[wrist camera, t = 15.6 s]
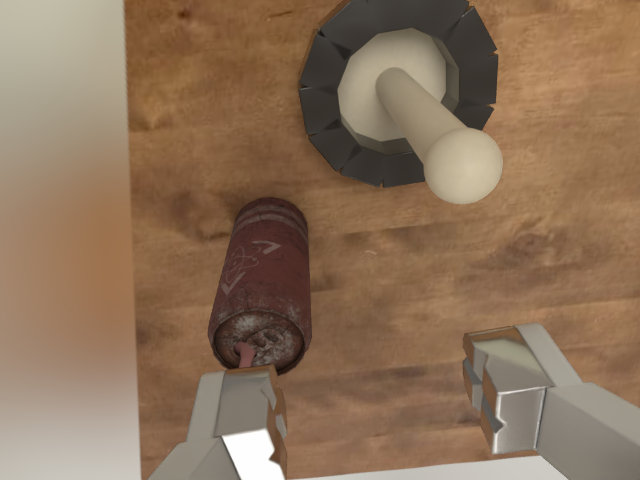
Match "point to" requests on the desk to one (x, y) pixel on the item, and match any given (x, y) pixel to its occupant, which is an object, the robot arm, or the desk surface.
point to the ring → (351, 35)
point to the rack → (418, 113)
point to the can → (264, 290)
